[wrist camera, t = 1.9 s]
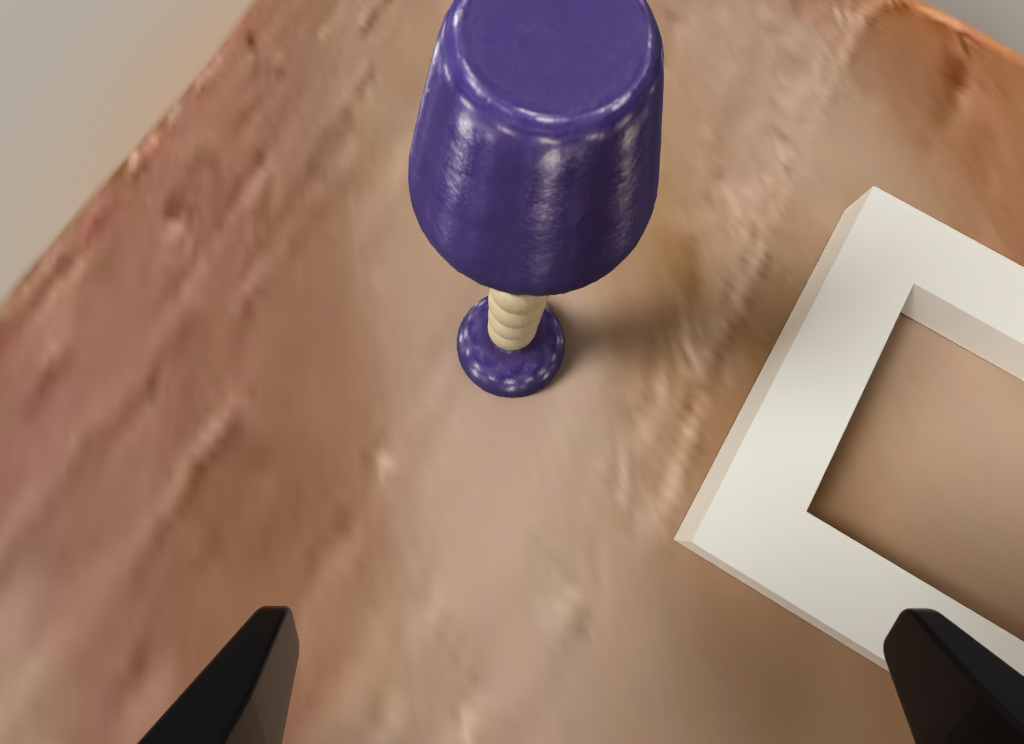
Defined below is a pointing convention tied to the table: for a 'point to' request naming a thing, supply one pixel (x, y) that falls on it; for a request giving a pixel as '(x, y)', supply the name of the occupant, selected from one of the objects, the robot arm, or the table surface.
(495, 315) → the toy lamp
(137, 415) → the table surface
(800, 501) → the cutout frame
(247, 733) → the robot arm
